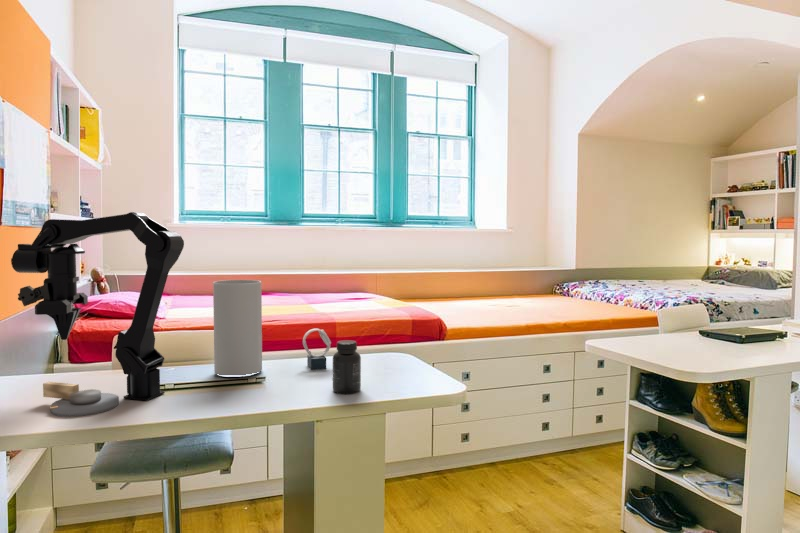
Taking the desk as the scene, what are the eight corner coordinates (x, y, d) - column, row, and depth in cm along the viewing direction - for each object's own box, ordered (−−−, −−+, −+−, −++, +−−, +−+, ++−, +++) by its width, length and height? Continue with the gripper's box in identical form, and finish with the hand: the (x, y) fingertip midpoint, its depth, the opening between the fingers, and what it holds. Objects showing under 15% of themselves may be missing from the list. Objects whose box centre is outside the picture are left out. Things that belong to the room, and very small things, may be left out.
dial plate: (132, 400, 127) (131, 394, 127) (87, 419, 115) (87, 412, 114) (84, 396, 130) (84, 390, 130) (35, 413, 118) (35, 407, 118)
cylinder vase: (205, 377, 148) (203, 283, 146) (229, 366, 160) (228, 279, 158) (248, 380, 145) (247, 284, 143) (270, 369, 157) (269, 280, 155)
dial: (107, 397, 125) (107, 383, 124) (86, 405, 119) (85, 390, 119) (57, 393, 128) (57, 379, 128) (34, 400, 122) (34, 386, 122)
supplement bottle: (356, 385, 141) (357, 338, 140) (363, 393, 134) (363, 343, 133) (330, 387, 138) (330, 340, 138) (335, 395, 132) (335, 345, 131)
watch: (333, 368, 158) (333, 329, 158) (304, 370, 156) (304, 331, 155) (328, 363, 164) (328, 326, 163) (301, 365, 161) (301, 328, 160)
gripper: (36, 271, 137) (38, 334, 138) (6, 277, 119) (8, 349, 120) (87, 270, 140) (89, 332, 141) (64, 276, 122) (67, 346, 123)
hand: (64, 339), depth 131 cm, fingers closed
